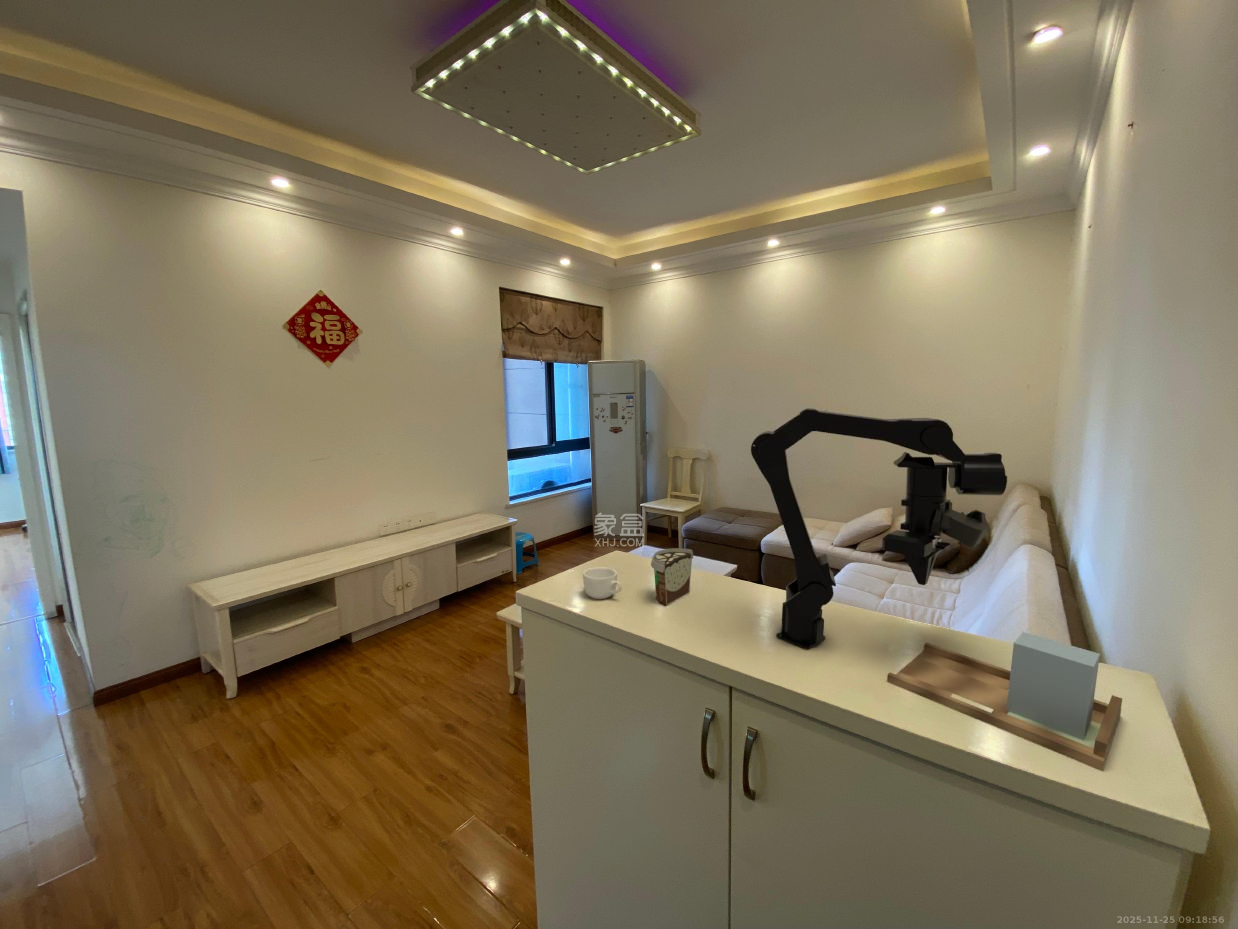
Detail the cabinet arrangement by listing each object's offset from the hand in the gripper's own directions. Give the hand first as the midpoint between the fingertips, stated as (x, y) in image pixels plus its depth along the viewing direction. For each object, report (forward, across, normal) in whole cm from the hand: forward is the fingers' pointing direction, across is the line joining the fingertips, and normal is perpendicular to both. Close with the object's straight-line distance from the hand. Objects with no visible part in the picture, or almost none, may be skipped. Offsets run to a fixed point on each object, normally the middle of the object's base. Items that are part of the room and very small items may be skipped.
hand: (922, 584), depth 84 cm
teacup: (+11, -26, +56) cm, 62 cm away
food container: (+11, -15, +46) cm, 50 cm away
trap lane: (+13, -6, -12) cm, 19 cm away
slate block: (+12, -6, -18) cm, 23 cm away
